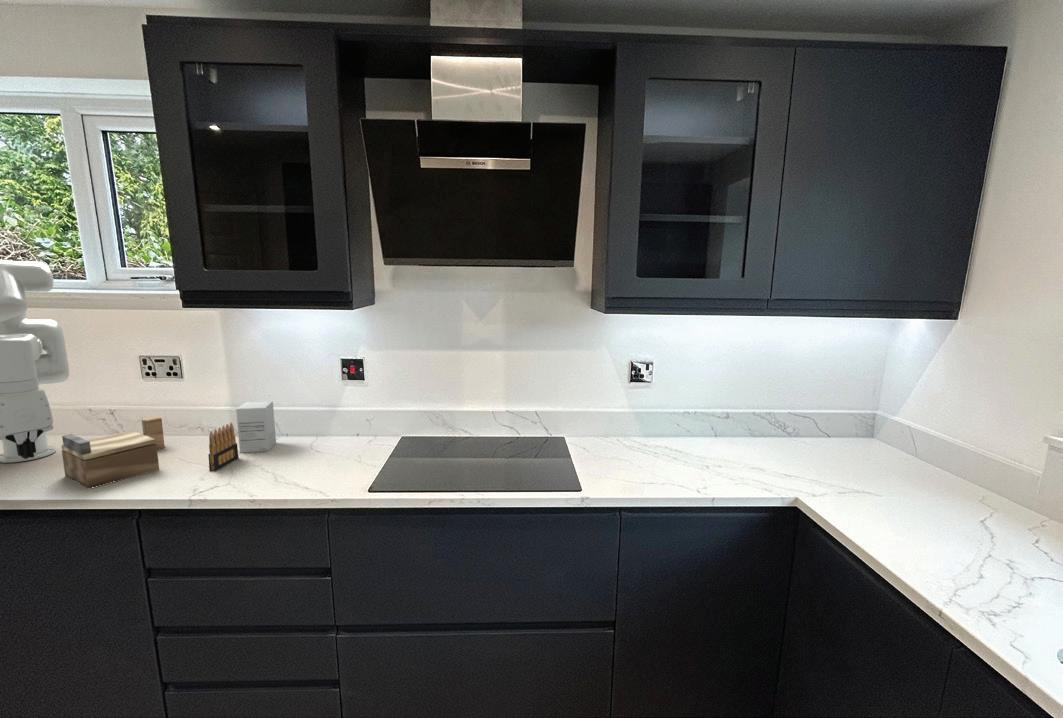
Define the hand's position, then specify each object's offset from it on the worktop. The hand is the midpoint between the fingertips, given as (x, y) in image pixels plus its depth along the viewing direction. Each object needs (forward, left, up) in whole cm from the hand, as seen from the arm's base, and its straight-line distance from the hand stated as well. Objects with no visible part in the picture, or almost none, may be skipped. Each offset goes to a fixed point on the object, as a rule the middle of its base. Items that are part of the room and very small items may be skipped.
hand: (27, 456), depth 120 cm
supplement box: (+14, +50, -10) cm, 53 cm away
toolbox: (0, +16, -10) cm, 19 cm away
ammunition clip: (+20, +36, -10) cm, 43 cm away
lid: (0, +16, -2) cm, 17 cm away
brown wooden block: (-14, +32, -10) cm, 37 cm away
